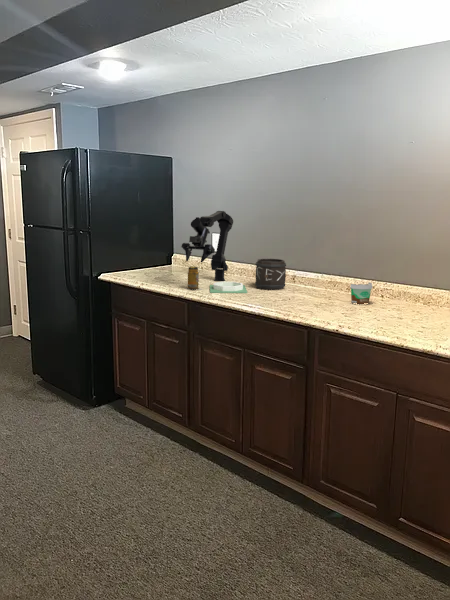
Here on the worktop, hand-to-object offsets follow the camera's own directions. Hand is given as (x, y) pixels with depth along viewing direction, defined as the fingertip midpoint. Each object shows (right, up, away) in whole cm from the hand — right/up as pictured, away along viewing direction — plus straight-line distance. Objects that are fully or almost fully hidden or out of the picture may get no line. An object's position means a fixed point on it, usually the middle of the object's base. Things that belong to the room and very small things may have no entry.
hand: (193, 261), depth 287 cm
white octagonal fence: (+19, -15, +1) cm, 24 cm away
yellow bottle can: (0, -15, +2) cm, 15 cm away
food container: (+85, -23, -32) cm, 94 cm away
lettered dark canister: (+43, -15, +8) cm, 46 cm away
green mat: (+19, -15, +1) cm, 24 cm away
